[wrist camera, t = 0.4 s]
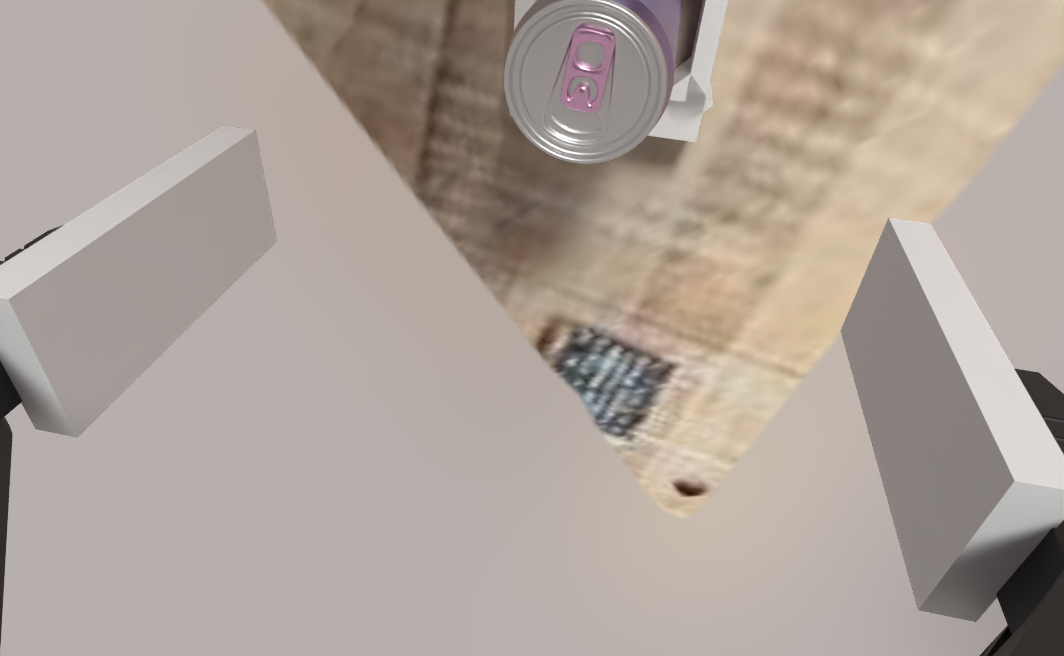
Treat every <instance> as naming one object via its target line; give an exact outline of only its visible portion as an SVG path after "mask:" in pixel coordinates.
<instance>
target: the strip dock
mask: <svg viewBox="0 0 1064 656" xmlns="http://www.w3.org/2000/svg"><path fill="white" fill-rule="evenodd" d="M536 1H537V0H515V16H514V30H515V28H516V26H517V24H518V23H519V21H520V20H521V18H522V17H523V16H524V14H525V13H526V12H527V11H528V10H529V9H530V7H531V6H532V5H533V4H534V3H535V2H536ZM727 3H728V0H703V2H702V7H701V12H700V17H699V22H698V27H697V31H696V36H695V41H694V46H693V51H692V56H691V57H690V58H689V59H687V60H686V61H685V62H683V63H682V64H680V65H679V66H678V67H676V68H675V72H674V81H673V88H672V92H671V96H670V99H669V102H668V105H667V107H666V109H665V111H664V113H663V115H662V117H661V118H660V120H659V121H658V123H657V124H656V125H655V127H654V128H653V129H652V130H651V132H650V133H649V134H648V135H647V136H654V137H661V138H669V139H676V140H683V141H690V142H696V140H697V136H698V131H699V127H700V123H701V118H702V114H703V112H704V111H706V110H707V109H709V108H710V107H712V106H713V96H712V86H711V84H710V78H711V74H712V70H713V65H714V61H715V56H716V52H717V48H718V43H719V39H720V34H721V30H722V25H723V21H724V17H725V12H726V8H727ZM510 116H512V115H511V113H510Z"/></svg>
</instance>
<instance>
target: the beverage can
mask: <svg viewBox="0 0 1064 656" xmlns="http://www.w3.org/2000/svg"><path fill="white" fill-rule="evenodd" d="M681 7H682V0H537V1H536V2H535V3H534V4H533V5H532V6H531V7H530V9H529V10H528V11H527V12H526V13H525V14H524V16H523V17H522V18H521V20H520V21H519V23H518V24H517V26H516V28H515V30H514V32H513V34H512V37H511V39H510V42H509V46H508V49H507V54H506V61H505V67H504V91H505V97H506V101H507V105H508V108H509V111H510V113H511V115H512V117H513V119H514V121H515V123H516V125H517V126H518V128H519V129H520V130H521V132H522V133H523V134H524V135H525V137H526V138H527V139H528V140H529V141H530V142H531V143H533V144H534V145H535V146H536V147H537V148H539V149H540V150H542V151H543V152H545V153H547V154H548V155H550V156H552V157H555V158H557V159H560V160H563V161H566V162H571V163H577V164H596V163H602V162H606V161H610V160H613V159H616V158H618V157H620V156H622V155H624V154H626V153H628V152H629V151H631V150H632V149H634V148H635V147H636V146H637V145H639V144H640V143H641V142H642V141H643V140H644V139H645V138H646V137H647V135H648V134H649V133H650V132H651V130H652V129H653V128H654V127H655V125H656V124H657V123H658V121H659V120H660V118H661V117H662V115H663V113H664V111H665V109H666V107H667V105H668V102H669V99H670V96H671V92H672V88H673V81H674V72H675V63H676V53H677V44H678V35H679V26H680V17H681Z"/></svg>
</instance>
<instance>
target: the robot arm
mask: <svg viewBox="0 0 1064 656" xmlns="http://www.w3.org/2000/svg"><path fill="white" fill-rule="evenodd" d="M276 241H277V238H276V233H275V228H274V223H273V218H272V213H271V207H270V203H269V197H268V192H267V187H266V182H265V177H264V171H263V166H262V161H261V156H260V151H259V146H258V141H257V136H256V130H253V129H246V128H239V127H232V126H224V125H222V126H221V127H219V128H217V129H216V130H214V131H213V132H211V133H210V134H208V135H207V136H205V137H203V138H202V139H200V140H199V141H197V142H195V143H194V144H192V145H191V146H189V147H187V148H186V149H184V150H183V151H181V152H180V153H178V154H176V155H175V156H173V157H171V158H170V159H168V160H167V161H165V162H163V163H162V164H160V165H159V166H157V167H156V168H154V169H152V170H151V171H149V172H148V173H146V174H144V175H143V176H141V177H140V178H138V179H137V180H135V181H134V182H132V183H130V184H129V185H127V186H125V187H124V188H122V189H121V190H119V191H118V192H116V193H115V194H113V195H111V196H110V197H108V198H106V199H105V200H103V201H102V202H100V203H98V204H97V205H95V206H94V207H92V208H90V209H89V210H87V211H86V212H84V213H83V214H81V215H79V216H78V217H76V218H75V219H73V220H72V221H70V222H68V223H67V224H65V225H63V226H60V227H57V228H55V229H52V230H49V231H47V232H45V233H44V234H42V235H41V236H39V237H38V238H36V239H34V240H33V241H31V242H29V243H28V244H26V245H25V246H24V249H18V250H17V251H15V252H13V253H12V254H10V255H9V256H7V257H5V261H4V262H3V261H0V644H1V626H2V609H3V590H4V572H5V556H6V555H5V554H6V538H7V520H8V503H9V485H10V467H11V450H12V431H11V428H10V426H9V424H8V422H7V420H6V419H5V417H4V416H6V415H7V414H8V413H9V412H10V411H11V410H13V409H14V408H15V407H16V406H17V405H18V404H20V403H22V405H23V407H24V409H25V410H26V412H27V414H28V416H29V418H30V420H31V421H32V423H33V425H34V427H35V429H38V430H43V431H48V432H53V433H58V434H62V435H67V436H72V437H78V436H79V435H80V434H82V433H83V432H84V431H85V430H86V429H87V427H88V426H90V425H91V424H92V423H93V422H94V421H95V420H96V419H97V418H98V417H99V416H100V415H101V414H102V412H104V411H105V410H106V409H107V408H108V407H109V406H110V405H111V404H112V403H113V402H114V401H115V400H116V399H117V398H118V397H119V396H120V395H121V394H122V393H123V392H124V391H125V390H126V389H127V388H128V387H129V386H130V385H131V384H132V383H133V382H134V381H135V380H136V379H137V378H138V377H139V376H140V375H141V374H142V373H143V372H144V371H145V370H147V368H148V367H150V366H151V365H152V364H153V363H154V362H155V360H157V359H158V358H159V357H160V356H161V355H162V354H163V353H164V352H165V351H166V350H167V349H168V348H169V347H170V346H171V345H172V344H173V343H174V342H175V341H176V340H177V339H178V338H179V337H180V336H181V335H182V334H183V333H184V332H185V331H186V330H187V329H188V328H189V327H190V326H191V325H192V324H193V323H194V322H195V321H196V320H197V319H198V318H199V317H200V316H201V315H202V314H203V313H204V312H205V311H206V310H207V309H208V308H209V307H210V306H211V305H213V304H214V302H216V301H217V300H218V299H219V298H220V297H221V296H222V295H223V294H224V293H225V292H226V291H227V290H228V289H229V288H230V287H231V286H232V285H233V284H234V283H235V282H236V281H237V280H238V279H239V278H240V277H241V276H242V275H243V274H244V273H245V272H246V271H247V270H248V269H249V268H250V267H251V266H252V265H253V264H254V263H255V262H256V261H257V260H258V259H259V258H260V257H261V256H262V255H263V254H264V253H265V252H266V251H267V250H268V249H269V248H270V247H271V246H272V245H273V244H274V243H275V242H276ZM841 334H842V338H843V341H844V345H845V349H846V352H847V356H848V359H849V363H850V366H851V370H852V374H853V377H854V381H855V384H856V388H857V391H858V395H859V399H860V402H861V406H862V410H863V413H864V417H865V421H866V424H867V428H868V431H869V435H870V439H871V442H872V446H873V449H874V453H875V457H876V460H877V464H878V467H879V471H880V474H881V478H882V482H883V485H884V489H885V492H886V496H887V499H888V503H889V507H890V511H891V514H892V518H893V521H894V525H895V528H896V532H897V536H898V539H899V543H900V546H901V550H902V554H903V557H904V561H905V564H906V568H907V572H908V575H909V579H910V582H911V586H912V590H913V593H914V597H915V601H916V604H917V608H918V610H920V611H925V612H930V613H935V614H940V615H945V616H950V617H955V618H960V619H964V620H969V621H974V622H976V621H977V620H978V619H979V618H980V617H981V615H982V614H983V613H984V612H985V611H986V609H987V608H988V607H989V606H990V605H991V604H992V603H993V601H994V600H995V599H996V598H998V600H999V603H1000V606H1001V608H1002V611H1003V613H1004V616H1005V619H1006V621H1007V624H1008V625H1007V627H1006V628H1005V629H1004V630H1003V631H1002V632H1001V633H1000V634H999V635H998V636H997V637H996V638H995V640H994V641H993V642H992V643H991V644H990V645H989V646H988V647H987V648H986V649H985V650H984V652H983V653H982V654H981V655H980V656H1064V394H1063V393H1062V392H1061V391H1059V390H1058V389H1057V388H1056V387H1055V386H1053V384H1051V383H1050V382H1049V381H1048V380H1047V379H1045V378H1044V377H1043V376H1042V375H1041V374H1040V373H1038V372H1031V371H1025V370H1019V369H1014V368H1013V366H1012V364H1011V362H1010V361H1009V359H1008V357H1007V356H1006V354H1005V352H1004V350H1003V349H1002V347H1001V345H1000V344H999V342H998V340H997V338H996V337H995V335H994V333H993V332H992V330H991V328H990V326H989V324H988V323H987V321H986V319H985V318H984V316H983V314H982V312H981V311H980V309H979V307H978V305H977V304H976V302H975V300H974V298H973V297H972V295H971V293H970V291H969V290H968V288H967V286H966V285H965V283H964V281H963V279H962V278H961V276H960V274H959V272H958V271H957V269H956V267H955V265H954V264H953V262H952V260H951V259H950V257H949V255H948V253H947V252H946V250H945V249H944V246H943V245H942V243H941V241H940V239H939V238H938V236H937V234H936V233H935V232H934V229H933V227H932V226H931V224H930V223H922V222H915V221H908V220H901V219H894V218H888V220H887V223H886V225H885V227H884V230H883V232H882V235H881V237H880V239H879V242H878V244H877V246H876V249H875V251H874V253H873V256H872V258H871V261H870V263H869V265H868V268H867V270H866V272H865V275H864V277H863V279H862V282H861V284H860V286H859V289H858V291H857V294H856V296H855V298H854V301H853V303H852V305H851V308H850V310H849V312H848V315H847V317H846V319H845V322H844V324H843V327H842V329H841Z"/></svg>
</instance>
